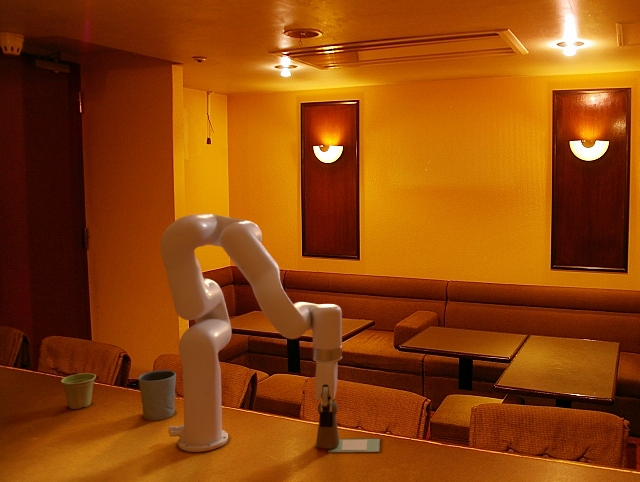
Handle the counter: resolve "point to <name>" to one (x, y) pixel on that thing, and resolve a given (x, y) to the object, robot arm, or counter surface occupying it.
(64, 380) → the plant pot
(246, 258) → the robot arm
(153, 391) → the grey cup
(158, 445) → the counter surface
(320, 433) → the brown tall tapered piece
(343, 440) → the placemat
